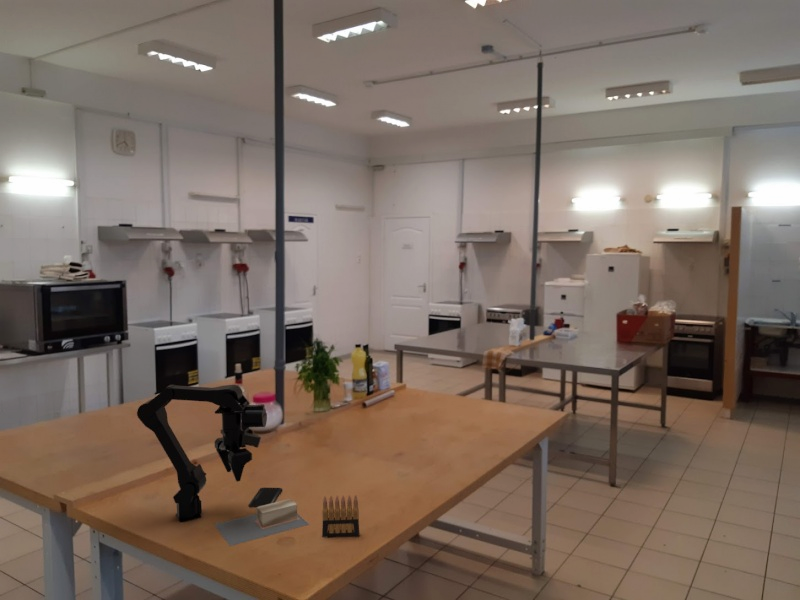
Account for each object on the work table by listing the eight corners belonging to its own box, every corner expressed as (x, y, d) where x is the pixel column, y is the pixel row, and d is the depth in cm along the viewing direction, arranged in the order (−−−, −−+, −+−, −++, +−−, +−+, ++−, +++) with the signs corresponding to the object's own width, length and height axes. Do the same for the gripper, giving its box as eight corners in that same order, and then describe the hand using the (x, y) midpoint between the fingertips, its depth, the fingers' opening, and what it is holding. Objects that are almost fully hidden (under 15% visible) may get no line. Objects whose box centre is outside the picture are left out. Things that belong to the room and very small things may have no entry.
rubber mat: (230, 547, 169) (230, 545, 169) (213, 525, 183) (213, 524, 183) (309, 525, 182) (309, 524, 182) (288, 506, 196) (288, 505, 196)
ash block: (297, 518, 186) (296, 504, 186) (262, 527, 180) (262, 513, 180) (291, 512, 190) (290, 498, 190) (257, 521, 184) (256, 507, 184)
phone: (283, 487, 209) (271, 506, 194) (283, 491, 209) (271, 509, 194) (260, 487, 209) (247, 505, 195) (260, 490, 210) (247, 509, 195)
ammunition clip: (322, 537, 174) (321, 497, 173) (322, 534, 176) (321, 494, 175) (359, 536, 175) (358, 496, 174) (359, 533, 177) (358, 493, 176)
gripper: (268, 430, 182) (269, 480, 184) (247, 415, 198) (249, 462, 199) (231, 436, 176) (233, 488, 178) (213, 421, 192) (214, 469, 193)
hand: (233, 476), depth 187 cm, fingers open, 9 cm apart
